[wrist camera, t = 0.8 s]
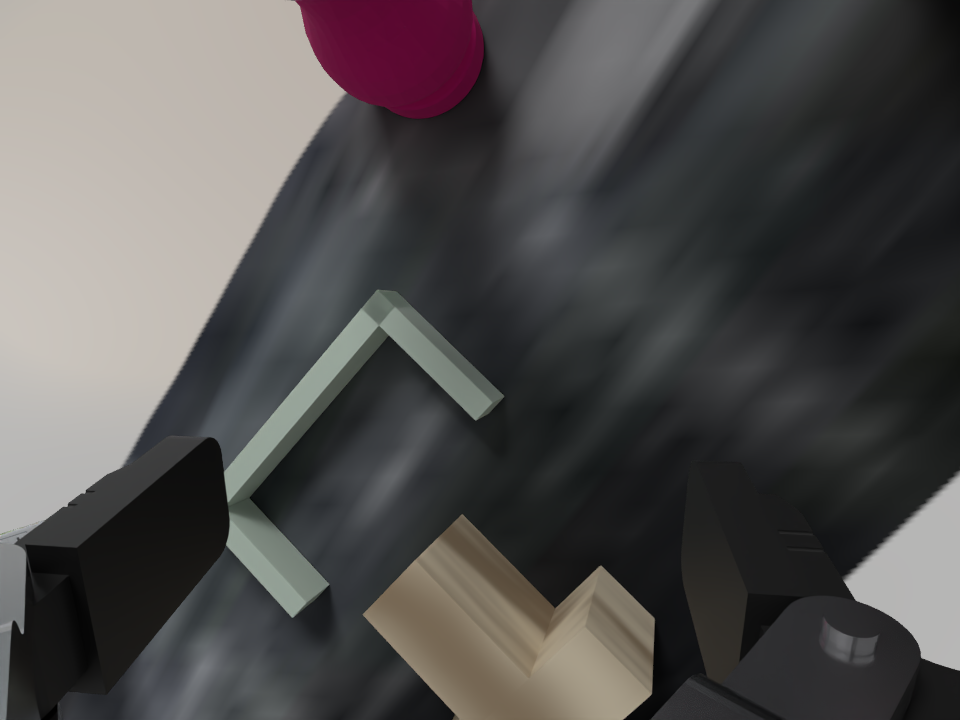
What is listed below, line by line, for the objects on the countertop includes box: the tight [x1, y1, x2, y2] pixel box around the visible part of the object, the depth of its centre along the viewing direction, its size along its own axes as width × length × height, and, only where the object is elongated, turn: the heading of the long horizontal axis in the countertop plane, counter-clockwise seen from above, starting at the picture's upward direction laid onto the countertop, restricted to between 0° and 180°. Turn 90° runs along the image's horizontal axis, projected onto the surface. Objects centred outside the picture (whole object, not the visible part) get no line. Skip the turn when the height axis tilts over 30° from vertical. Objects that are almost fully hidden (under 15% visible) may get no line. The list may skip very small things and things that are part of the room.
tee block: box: [363, 514, 655, 720], centre depth 32 cm, size 10×10×7 cm
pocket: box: [224, 290, 505, 618], centre depth 36 cm, size 15×8×2 cm, turn 137°
